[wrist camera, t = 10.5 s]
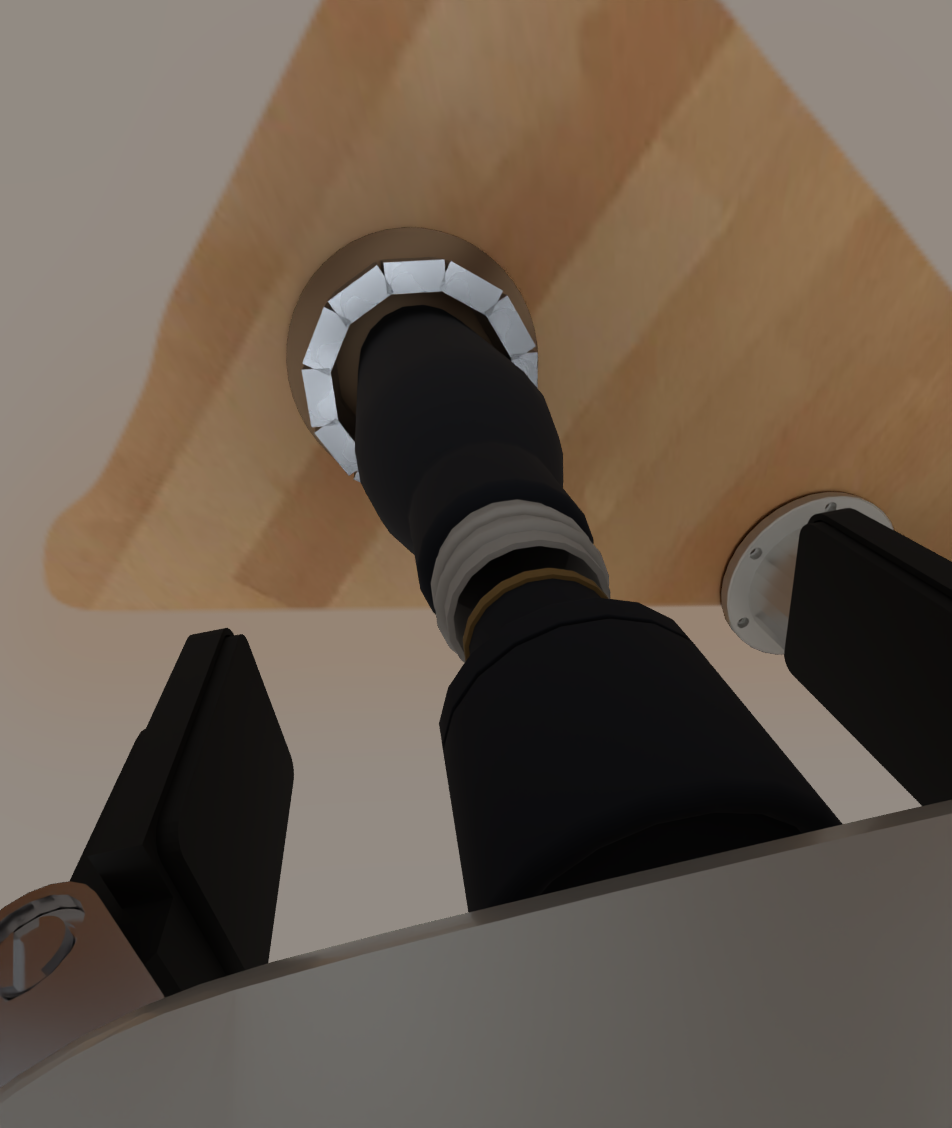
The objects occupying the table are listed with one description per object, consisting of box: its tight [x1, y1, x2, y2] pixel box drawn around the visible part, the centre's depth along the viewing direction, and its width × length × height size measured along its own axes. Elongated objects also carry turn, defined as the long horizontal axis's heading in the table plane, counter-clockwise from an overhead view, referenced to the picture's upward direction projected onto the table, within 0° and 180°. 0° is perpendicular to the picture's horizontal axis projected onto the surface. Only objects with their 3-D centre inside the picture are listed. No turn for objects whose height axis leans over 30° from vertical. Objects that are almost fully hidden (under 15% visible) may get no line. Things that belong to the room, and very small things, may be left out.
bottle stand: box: [286, 227, 538, 482], centre depth 31 cm, size 13×13×6 cm
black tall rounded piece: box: [355, 305, 842, 912], centre depth 19 cm, size 6×6×30 cm
